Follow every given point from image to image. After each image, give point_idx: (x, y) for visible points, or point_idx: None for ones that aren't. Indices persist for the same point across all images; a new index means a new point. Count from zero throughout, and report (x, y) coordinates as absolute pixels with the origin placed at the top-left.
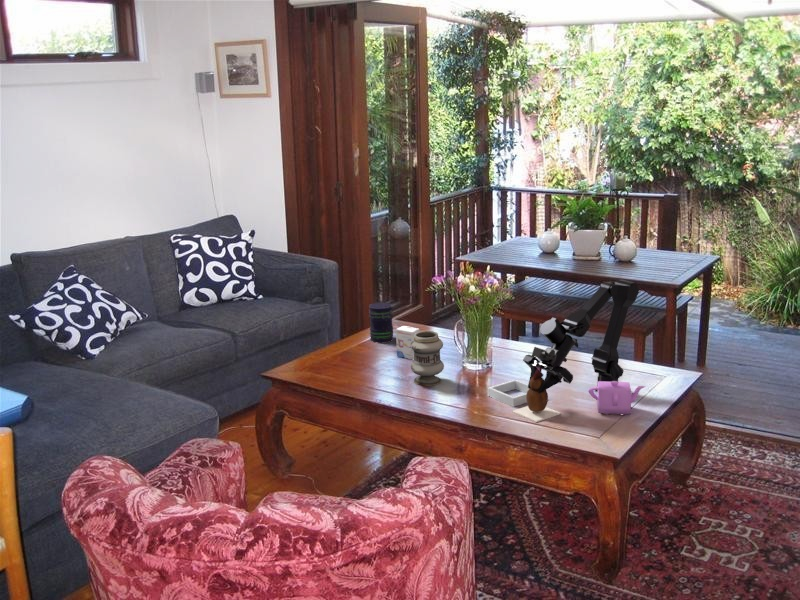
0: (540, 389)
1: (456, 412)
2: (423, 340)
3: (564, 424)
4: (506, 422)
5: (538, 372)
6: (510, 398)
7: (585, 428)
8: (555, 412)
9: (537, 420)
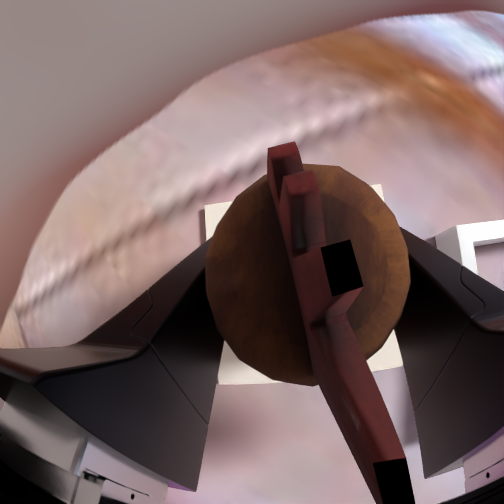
0: (203, 246)
1: (443, 46)
2: None
3: (122, 306)
4: (285, 103)
5: (310, 297)
6: (470, 224)
7: (65, 341)
8: (235, 365)
9: (206, 216)
